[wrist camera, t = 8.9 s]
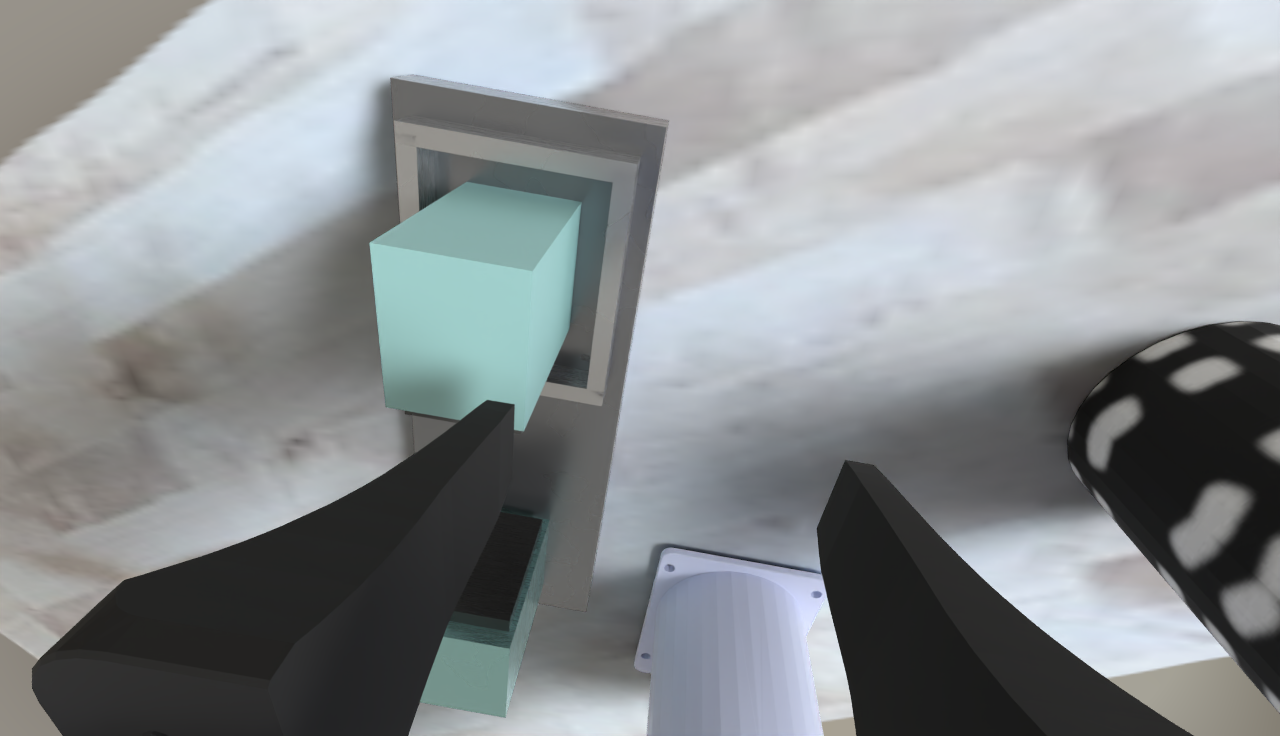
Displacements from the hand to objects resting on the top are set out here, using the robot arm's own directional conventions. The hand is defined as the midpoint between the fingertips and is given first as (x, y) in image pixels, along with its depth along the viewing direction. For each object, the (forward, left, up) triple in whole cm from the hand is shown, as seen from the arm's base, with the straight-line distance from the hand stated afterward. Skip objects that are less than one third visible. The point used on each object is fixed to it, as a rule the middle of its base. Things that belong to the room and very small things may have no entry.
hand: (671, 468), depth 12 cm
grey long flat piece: (-5, +6, -9) cm, 12 cm away
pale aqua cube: (+1, +6, -8) cm, 10 cm away
